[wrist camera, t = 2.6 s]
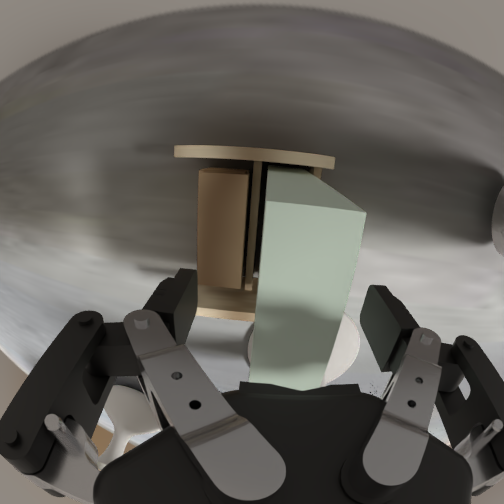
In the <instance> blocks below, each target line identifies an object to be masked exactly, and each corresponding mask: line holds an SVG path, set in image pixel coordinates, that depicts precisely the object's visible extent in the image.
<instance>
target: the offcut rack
mask: <svg viewBox="0 0 504 504" xmlns="http://www.w3.org/2000/svg"><path fill="white" fill-rule="evenodd" d="M174 157H193V158H222V159H240V160H254V168H253V181H252V195H251V208H250V222H249V235H248V249H247V263H246V277H242V283H241V289H234V288H224V287H215V286H205V285H198V306H197V312H196V315H198V316H206V317H214V318H223V319H232V320H241V321H252V322H254V320H255V309H256V298H257V287H258V278H253V272H254V260H255V248H256V236H257V224H258V212H259V200H260V188H261V175H262V163H263V161H266V162H277V163H287V164H296V165H305V166H310V167H309V173H311V174H312V175H314V176H316V177H317V178H319V179H320V180H321V173H322V168H328V169H334V164H335V157H331V156H325V155H319V154H312V153H304V152H295V151H286V150H276V149H265V148H252V147H237V146H214V145H175V146H174Z"/></svg>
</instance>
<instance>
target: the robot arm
mask: <svg viewBox="0 0 504 504" xmlns="http://www.w3.org/2000/svg"><path fill="white" fill-rule="evenodd" d="M492 238H493V243H494V246H495V248H496V250H497V251H498V252H499V254H501V255H502V256H504V186H503V187H502V189H501V191H500V192H499V194H498V197H497V200H496V202H495V206H494V210H493V216H492ZM197 306H198V274H197V270H193V269H183V268H180V270H179V271H178V273H177V274H176V276H175V277H174V278H169V277H168V278H167V279H165V280H163V281H162V282H160V284H159V285H158V287H157V288H156V290H155V291H154V292H153V295H151V297H150V298H149V300H148V301H147V303H146V304H145V306H144V307H143V309H142V310H136V311H133V312H131V313H129V314H128V315H126V316H125V318H124V320H123V322H116V323H104V321H103V317H102V315H101V314H100V313H98V312H96V311H83V312H80V313H77V314H76V315H74V316H73V317H72V318H71V319H70V320H69V322H68V323H67V324H66V325H65V327H64V328H63V329H62V330H61V332H60V333H59V334H58V336H57V337H56V338H55V340H54V341H53V342H52V343H51V345H50V346H49V347H48V349H47V350H46V351H45V353H44V354H43V356H42V357H41V358H40V360H39V361H38V363H37V364H36V365H35V367H34V368H33V370H32V371H31V372H30V374H29V375H28V377H27V378H26V380H25V381H24V383H23V384H22V386H21V387H20V389H19V391H18V392H17V394H16V395H15V397H14V398H13V400H12V402H11V403H10V405H9V406H8V408H7V410H6V411H5V413H4V415H3V416H2V418H1V420H0V454H1V455H2V456H3V457H4V458H5V459H6V460H7V461H8V462H9V463H11V464H12V465H13V466H14V468H15V469H16V470H17V471H18V472H20V473H21V474H22V475H23V476H25V477H26V478H27V479H29V480H30V481H31V482H33V483H34V484H35V485H37V486H38V487H40V488H42V489H44V490H45V491H46V492H48V493H49V494H51V495H53V496H56V497H64V496H67V497H69V498H71V499H74V500H76V501H78V502H81V503H83V504H471V495H472V496H478V495H480V494H482V493H483V492H485V491H486V490H487V489H489V488H490V487H492V486H493V485H495V484H496V483H497V482H499V481H500V480H501V479H503V478H504V381H503V380H502V378H501V377H500V375H499V374H498V372H497V370H496V369H495V367H494V366H493V365H492V363H491V362H490V360H489V359H488V357H487V356H486V354H485V353H484V352H483V350H482V349H481V347H480V346H479V345H478V343H477V342H476V341H475V340H473V339H472V338H470V337H468V336H464V335H460V336H458V337H457V338H456V339H455V341H454V343H453V345H451V344H446V343H441V339H440V337H439V336H438V335H437V334H436V333H435V332H434V331H432V330H430V329H427V328H420V326H419V325H418V324H417V322H416V321H415V319H414V318H413V317H412V315H411V314H410V313H409V311H408V310H407V309H406V307H405V306H404V304H403V303H402V302H401V301H400V300H399V299H397V298H396V297H395V296H393V295H392V293H391V292H390V291H389V289H388V288H387V287H386V286H383V285H370V286H369V288H368V291H367V294H366V297H365V301H364V304H363V307H362V310H361V314H360V324H361V327H362V329H363V331H364V333H365V336H366V338H367V340H368V342H369V344H370V347H371V349H372V351H373V354H374V356H375V358H376V360H377V363H378V365H379V367H380V370H381V372H389V371H392V375H391V377H390V379H389V381H388V383H387V385H386V387H385V390H384V392H383V394H382V396H381V398H378V397H376V396H373V395H370V394H367V393H362V392H360V388H359V385H358V384H343V385H328V386H324V387H319V388H315V389H310V390H304V391H301V390H296V389H291V388H287V387H282V386H278V385H274V384H268V383H254V382H242V381H240V386H239V390H234V391H228V392H224V393H221V394H220V392H219V391H218V390H217V388H216V387H215V386H214V384H213V383H212V382H211V380H210V379H209V378H208V376H207V375H206V374H205V372H204V371H203V370H202V368H201V367H200V365H199V364H198V363H197V361H196V360H195V358H194V357H193V356H192V354H191V353H190V351H189V350H188V348H187V347H186V346H185V345H184V344H185V342H186V339H187V336H188V333H189V331H190V328H191V325H192V323H193V320H194V317H195V315H196V312H197ZM117 376H137V379H138V381H139V383H140V386H141V388H142V390H143V392H144V395H145V397H146V399H147V401H148V403H149V405H150V407H151V409H152V412H153V414H154V416H155V419H156V421H157V423H158V426H159V428H160V430H161V432H159V433H158V434H156V435H154V436H153V437H151V438H150V439H148V440H147V441H145V442H143V443H142V444H140V445H138V446H137V447H135V448H134V449H132V450H130V451H129V452H127V453H125V454H123V455H122V456H120V457H118V458H116V459H115V460H113V461H111V462H110V463H108V464H107V465H106V466H105V467H104V468H103V469H102V470H101V471H99V470H98V464H97V462H98V450H97V448H96V446H95V444H94V443H93V442H92V440H91V438H92V435H93V432H94V430H95V428H96V425H97V423H98V420H99V418H100V415H101V413H102V410H103V408H104V406H105V403H106V401H107V399H108V396H109V394H110V392H111V389H112V387H113V385H114V383H115V380H116V378H117ZM464 377H465V378H466V379H467V381H468V383H469V385H470V388H471V391H470V395H469V397H468V398H467V400H465V398H464V396H463V394H462V392H461V390H460V388H459V384H460V383H461V381H462V380H463V378H464ZM434 404H435V405H436V407H437V410H438V412H439V414H440V417H441V419H442V422H443V425H444V427H445V430H446V432H447V435H448V438H449V441H450V443H451V446H452V448H450V447H449V446H447V445H446V444H444V443H443V442H441V441H440V440H439V439H437V438H436V437H434V436H433V435H431V434H430V433H429V432H428V426H429V422H430V419H431V415H432V412H433V408H434Z"/></svg>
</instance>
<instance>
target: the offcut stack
mask: <svg viewBox="0 0 504 504" xmlns="http://www.w3.org/2000/svg"><path fill="white" fill-rule="evenodd" d="M249 171H250V170H246V169H231V168H213V167H209V168H206V169H201V170H199V180H198V215H197V274H198V285H205V286H215V287H224V288H234V289H241V283H242V274H243V259H244V245H245V231H246V217H247V203H248V189H249V176H250V173H249Z"/></svg>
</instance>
